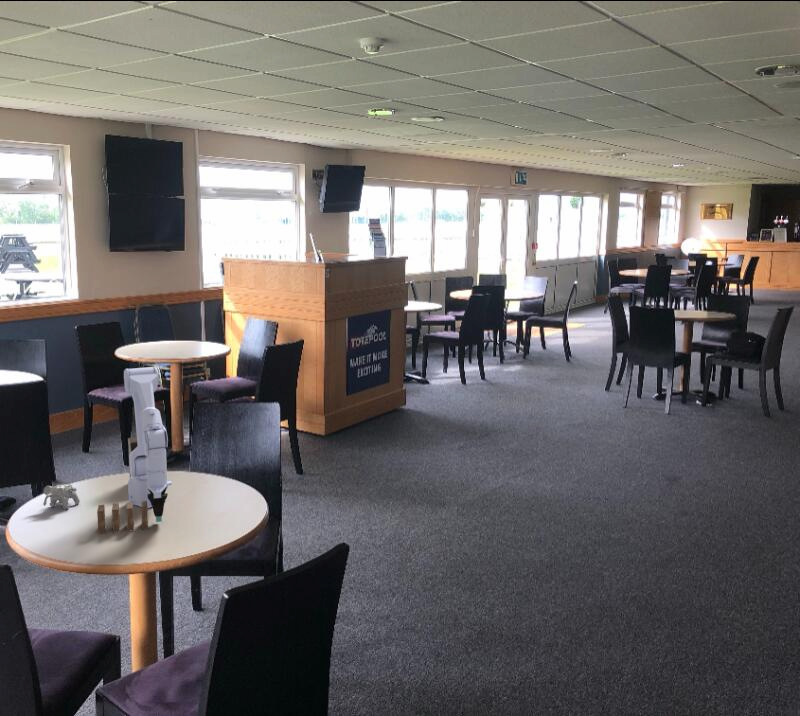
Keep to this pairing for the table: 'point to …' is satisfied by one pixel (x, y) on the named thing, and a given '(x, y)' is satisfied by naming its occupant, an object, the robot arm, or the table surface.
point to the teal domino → (159, 519)
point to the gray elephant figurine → (61, 495)
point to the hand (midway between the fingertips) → (158, 512)
